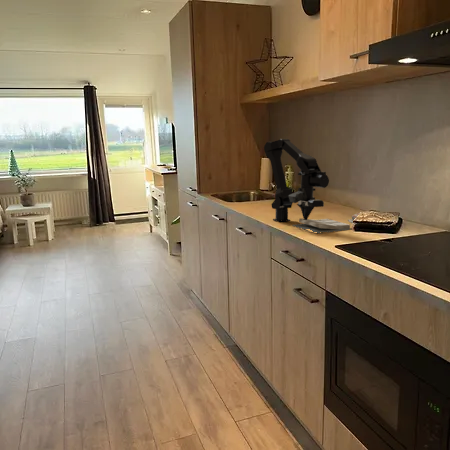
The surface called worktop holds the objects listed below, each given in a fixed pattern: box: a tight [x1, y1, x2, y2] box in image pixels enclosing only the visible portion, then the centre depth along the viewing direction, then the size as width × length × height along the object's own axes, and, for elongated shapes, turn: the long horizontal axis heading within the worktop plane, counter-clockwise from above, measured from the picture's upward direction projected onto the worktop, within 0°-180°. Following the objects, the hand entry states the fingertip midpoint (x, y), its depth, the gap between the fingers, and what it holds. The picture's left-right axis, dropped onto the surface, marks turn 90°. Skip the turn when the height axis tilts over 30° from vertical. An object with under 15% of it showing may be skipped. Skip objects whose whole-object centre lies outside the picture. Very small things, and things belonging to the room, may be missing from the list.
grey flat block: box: [318, 218, 351, 229], centre depth 192 cm, size 16×6×2 cm, turn 24°
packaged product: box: [347, 212, 361, 224], centre depth 194 cm, size 18×5×10 cm
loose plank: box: [298, 218, 339, 229], centre depth 188 cm, size 16×10×2 cm, turn 24°
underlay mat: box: [291, 223, 353, 234], centre depth 189 cm, size 19×19×1 cm
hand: (305, 219), depth 191 cm, fingers closed, pressing on loose plank
